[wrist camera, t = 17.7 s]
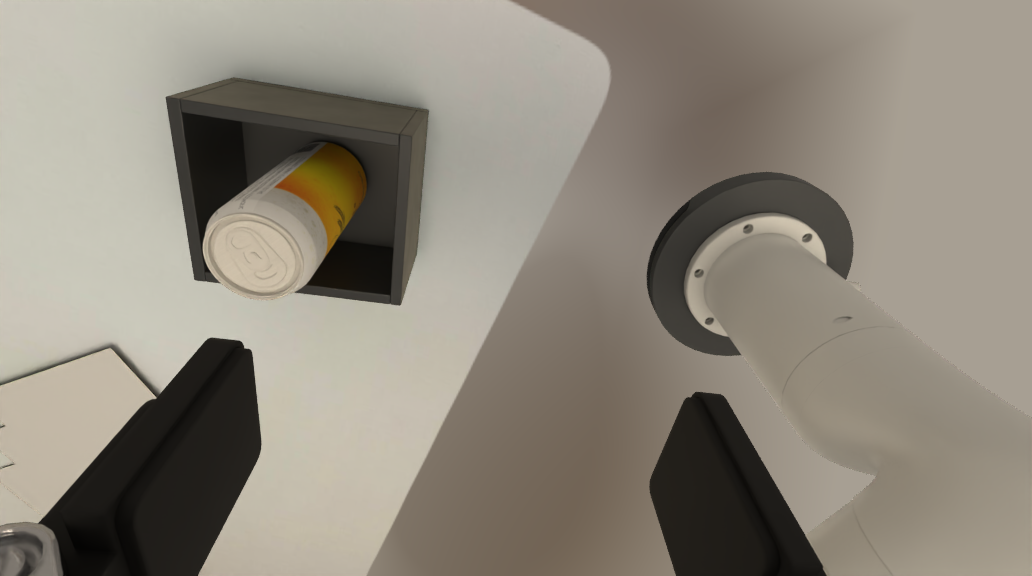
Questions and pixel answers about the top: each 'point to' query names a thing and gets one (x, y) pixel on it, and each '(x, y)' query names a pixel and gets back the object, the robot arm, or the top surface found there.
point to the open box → (277, 135)
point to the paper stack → (64, 423)
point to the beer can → (284, 222)
